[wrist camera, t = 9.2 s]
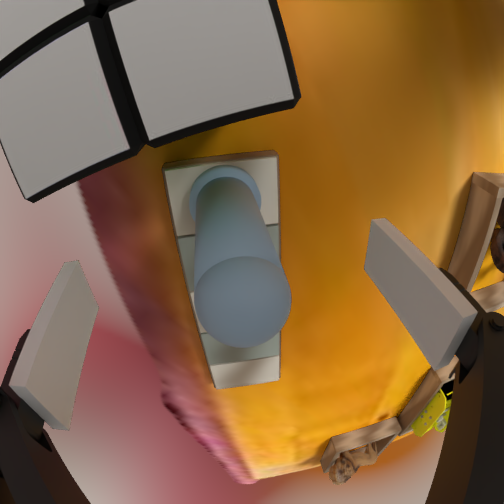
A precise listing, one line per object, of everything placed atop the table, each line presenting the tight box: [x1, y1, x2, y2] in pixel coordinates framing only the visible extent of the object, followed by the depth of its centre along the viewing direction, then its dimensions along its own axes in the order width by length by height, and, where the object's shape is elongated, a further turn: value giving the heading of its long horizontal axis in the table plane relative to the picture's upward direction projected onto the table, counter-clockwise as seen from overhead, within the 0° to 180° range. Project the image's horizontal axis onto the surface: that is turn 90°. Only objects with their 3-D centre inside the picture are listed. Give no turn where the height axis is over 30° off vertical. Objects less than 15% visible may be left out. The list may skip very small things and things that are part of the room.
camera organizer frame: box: [397, 356, 459, 436], centre depth 44 cm, size 12×22×4 cm, turn 3°
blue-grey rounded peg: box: [189, 165, 291, 348], centre depth 14 cm, size 4×4×11 cm
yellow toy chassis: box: [411, 379, 454, 437], centre depth 42 cm, size 16×6×8 cm, turn 6°
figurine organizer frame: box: [320, 416, 402, 473], centre depth 51 cm, size 14×17×4 cm
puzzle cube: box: [0, 0, 301, 203], centre depth 10 cm, size 10×10×10 cm
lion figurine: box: [329, 441, 377, 485], centre depth 49 cm, size 15×5×9 cm, turn 85°
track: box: [162, 150, 281, 389], centre depth 24 cm, size 7×23×2 cm, turn 3°
